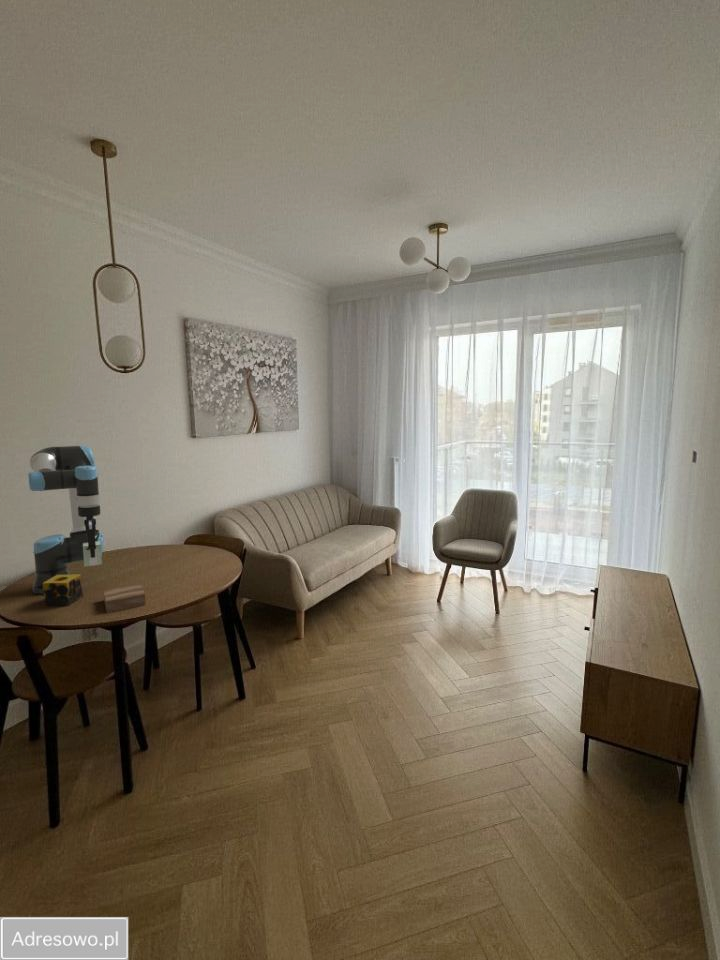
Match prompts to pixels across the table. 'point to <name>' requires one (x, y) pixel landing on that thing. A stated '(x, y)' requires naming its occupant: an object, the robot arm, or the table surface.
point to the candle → (62, 589)
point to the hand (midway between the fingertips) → (93, 562)
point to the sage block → (86, 554)
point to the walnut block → (124, 597)
